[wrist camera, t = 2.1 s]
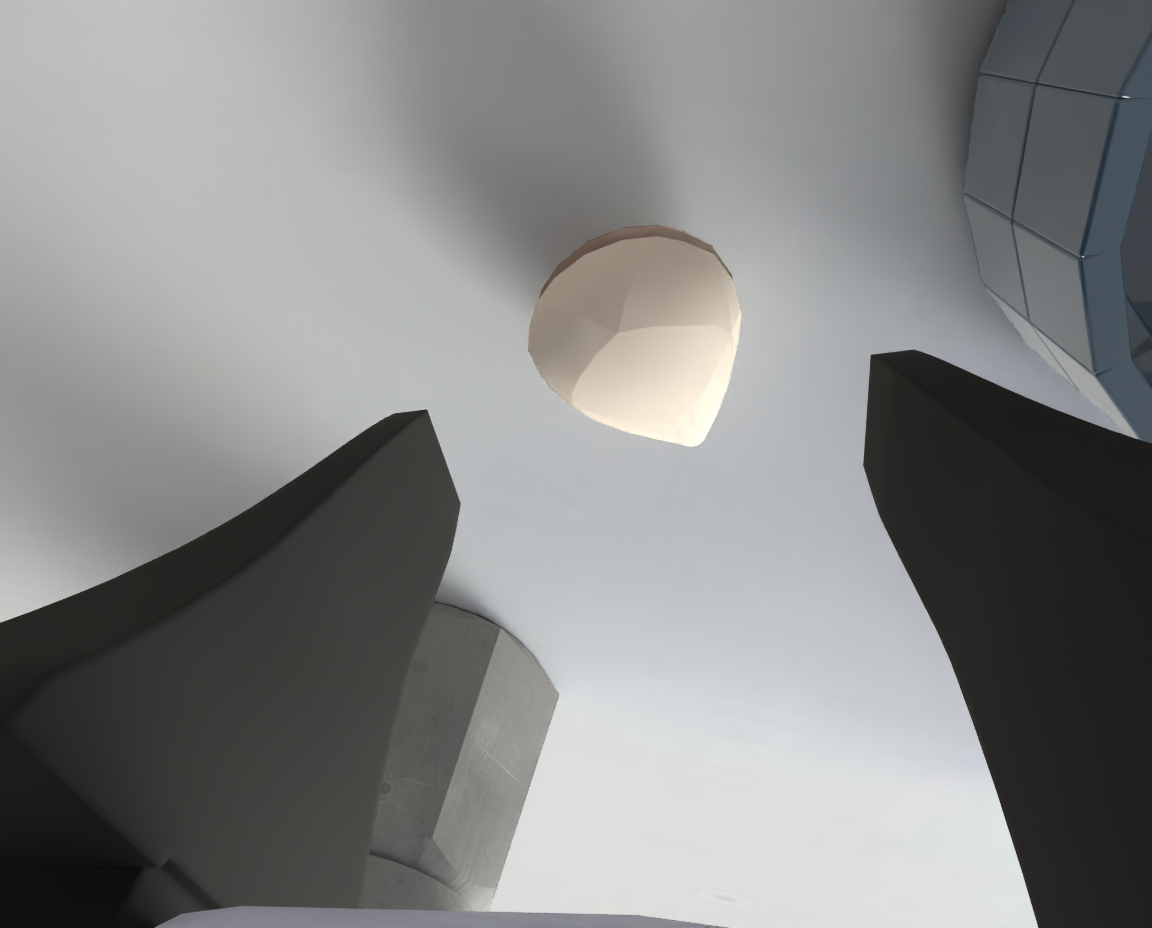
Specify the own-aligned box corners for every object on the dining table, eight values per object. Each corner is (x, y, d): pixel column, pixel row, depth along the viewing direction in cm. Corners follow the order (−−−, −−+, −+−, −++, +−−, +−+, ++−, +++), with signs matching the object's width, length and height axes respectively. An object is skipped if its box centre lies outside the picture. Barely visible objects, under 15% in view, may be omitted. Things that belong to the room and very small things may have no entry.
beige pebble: (687, 174, 13) (695, 205, 11) (781, 379, 15) (802, 438, 13) (505, 278, 14) (480, 324, 12) (615, 450, 16) (610, 514, 14)
